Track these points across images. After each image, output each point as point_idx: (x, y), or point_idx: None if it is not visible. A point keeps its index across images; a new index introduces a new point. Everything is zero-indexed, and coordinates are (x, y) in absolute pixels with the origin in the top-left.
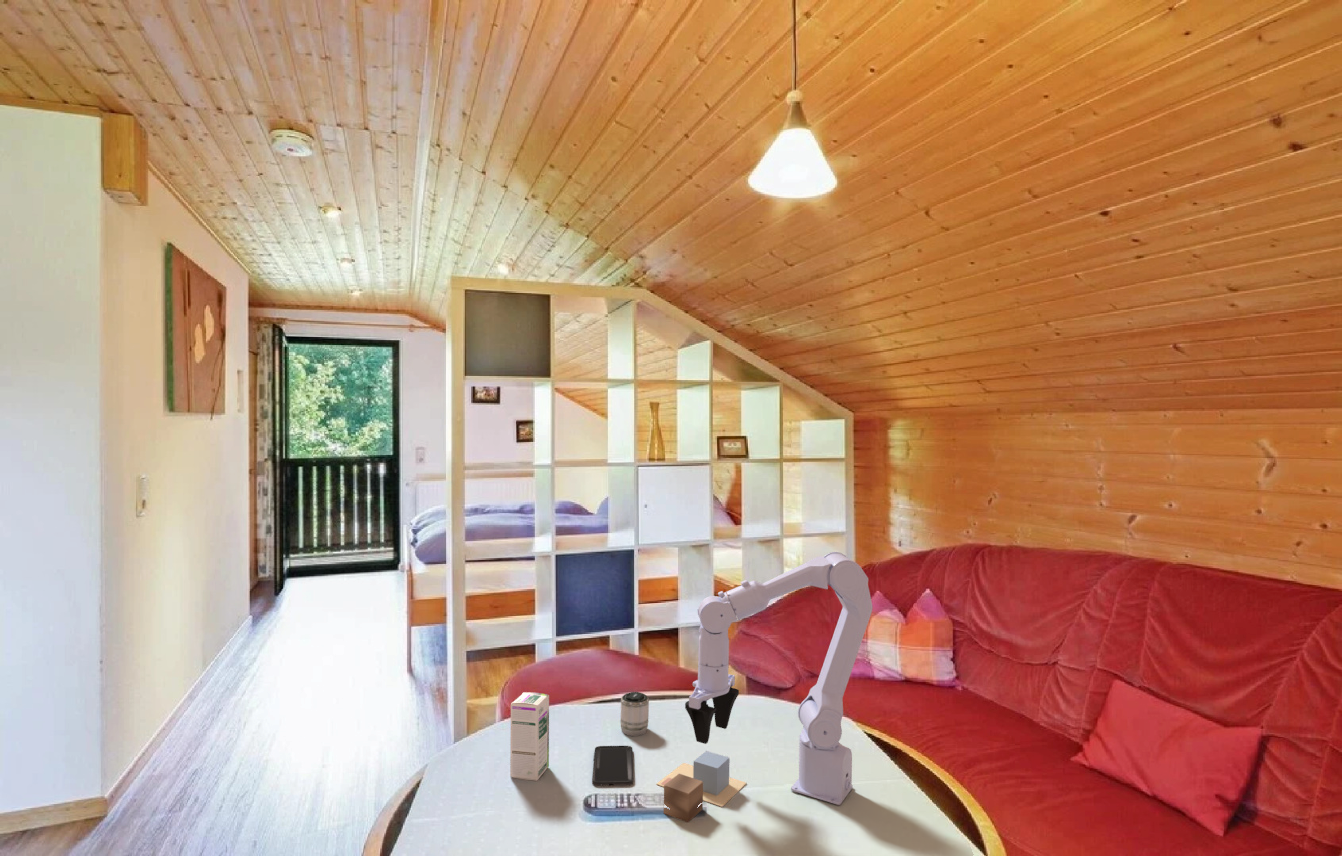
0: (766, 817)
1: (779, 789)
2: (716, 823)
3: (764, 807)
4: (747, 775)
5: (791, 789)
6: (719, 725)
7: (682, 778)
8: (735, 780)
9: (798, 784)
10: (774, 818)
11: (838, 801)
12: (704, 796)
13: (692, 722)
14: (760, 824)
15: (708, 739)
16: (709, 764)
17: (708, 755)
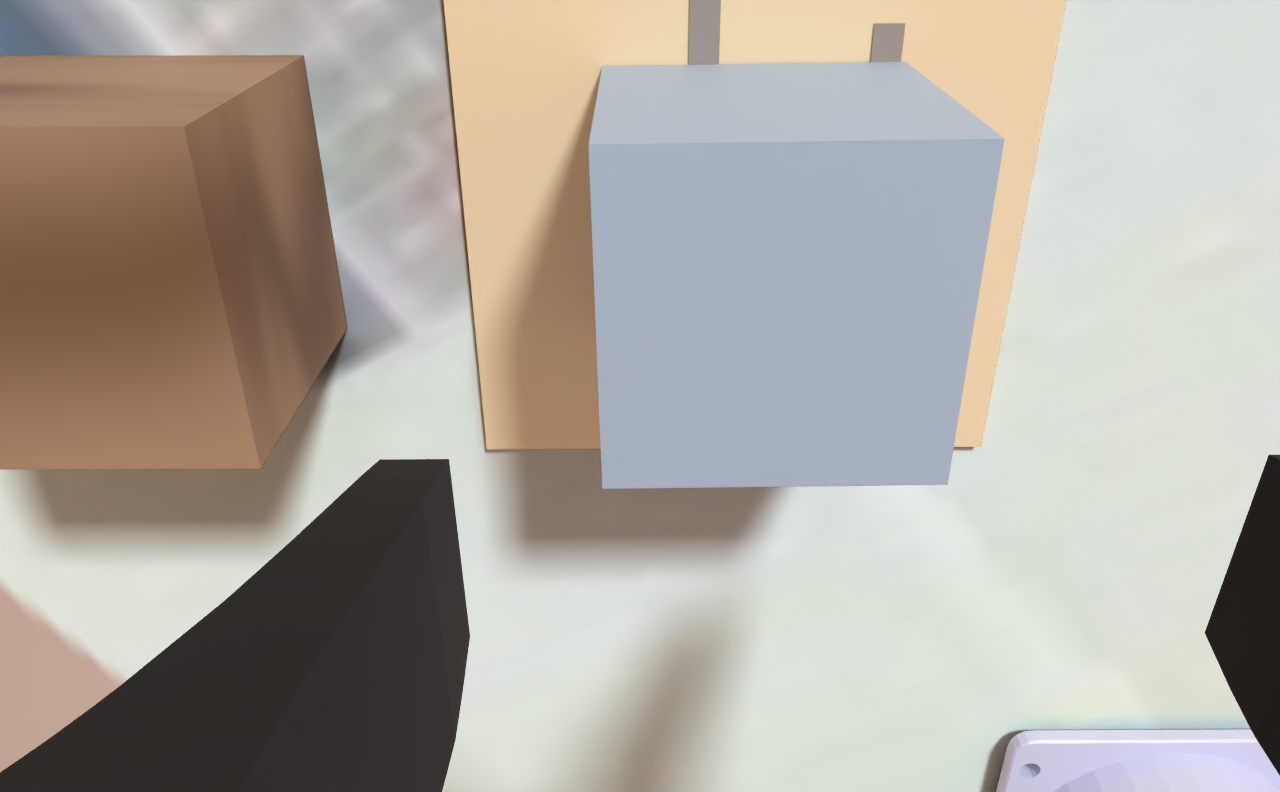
0: (575, 720)
1: (1002, 662)
2: (257, 506)
3: (689, 670)
4: (1137, 387)
5: (1015, 740)
6: (1270, 546)
7: (118, 239)
8: (974, 352)
9: (1097, 765)
10: (597, 756)
11: None
12: (530, 250)
13: (49, 753)
14: (470, 721)
15: (455, 699)
16: (633, 372)
17: (873, 238)
